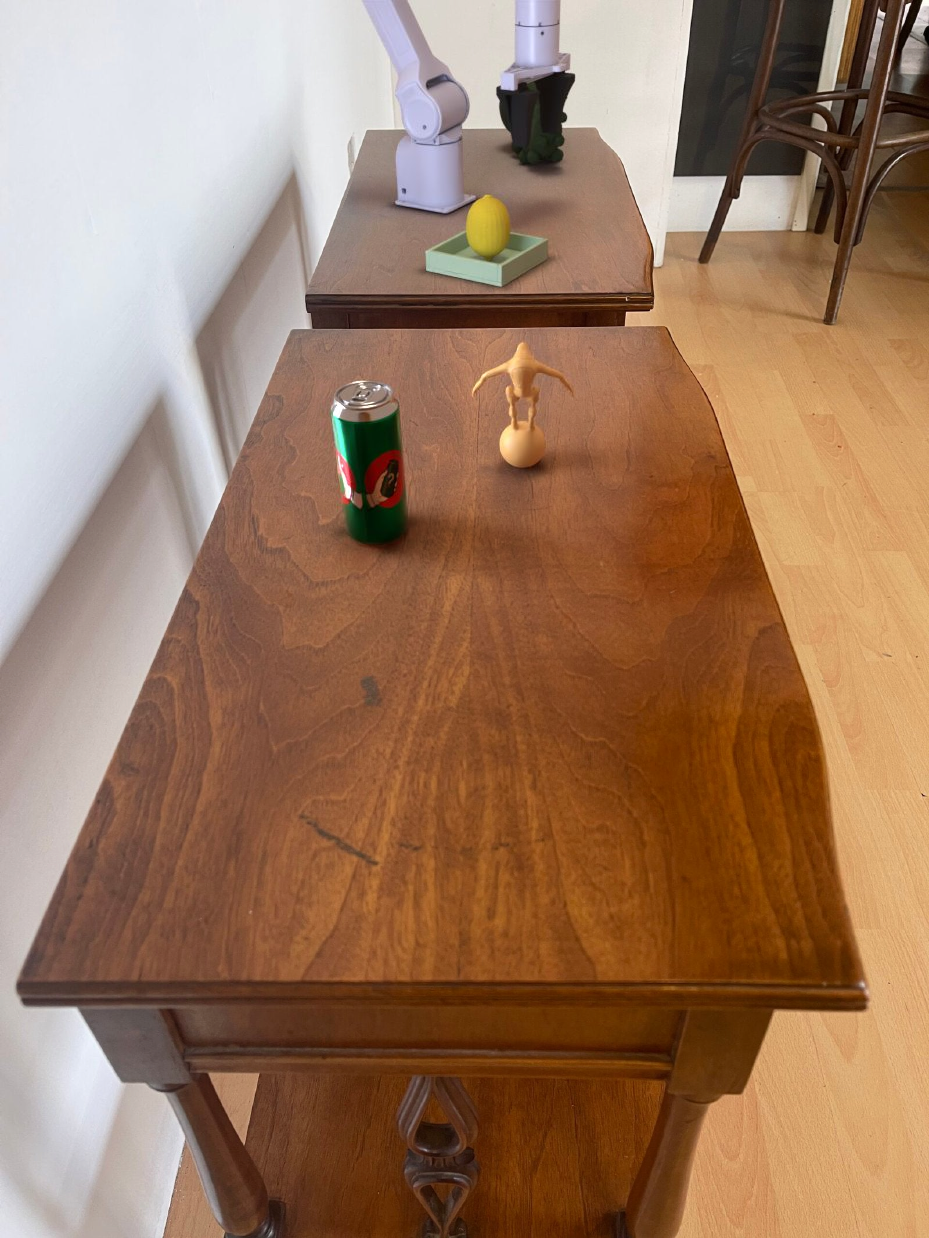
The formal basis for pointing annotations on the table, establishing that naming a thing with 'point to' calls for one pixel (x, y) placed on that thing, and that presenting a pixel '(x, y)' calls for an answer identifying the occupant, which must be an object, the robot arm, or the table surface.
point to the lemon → (488, 227)
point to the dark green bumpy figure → (538, 138)
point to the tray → (502, 269)
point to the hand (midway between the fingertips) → (535, 139)
